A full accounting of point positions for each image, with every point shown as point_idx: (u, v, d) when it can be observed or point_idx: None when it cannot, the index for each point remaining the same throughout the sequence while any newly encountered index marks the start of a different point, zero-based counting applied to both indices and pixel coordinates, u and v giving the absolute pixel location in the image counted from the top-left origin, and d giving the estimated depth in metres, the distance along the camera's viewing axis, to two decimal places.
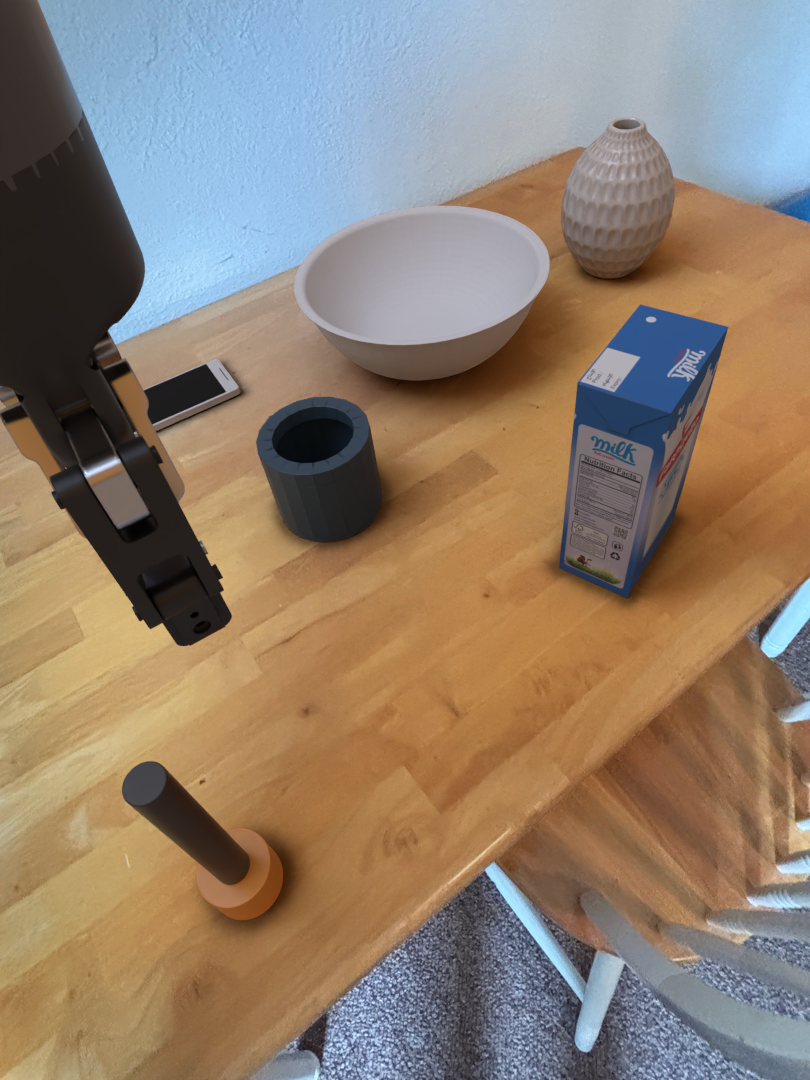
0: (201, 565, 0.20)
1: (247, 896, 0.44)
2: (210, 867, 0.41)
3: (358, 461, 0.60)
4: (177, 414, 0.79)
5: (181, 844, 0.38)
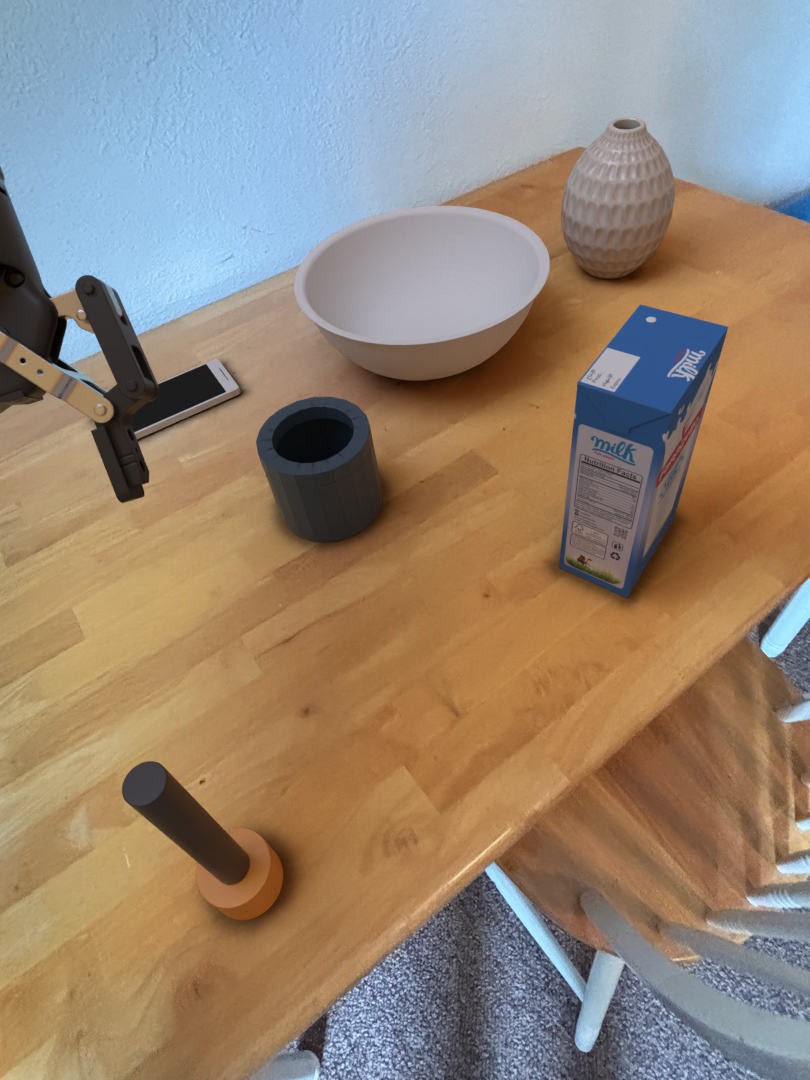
0: (147, 363, 0.35)
1: (247, 896, 0.44)
2: (210, 867, 0.41)
3: (358, 461, 0.60)
4: (177, 414, 0.79)
5: (181, 844, 0.38)
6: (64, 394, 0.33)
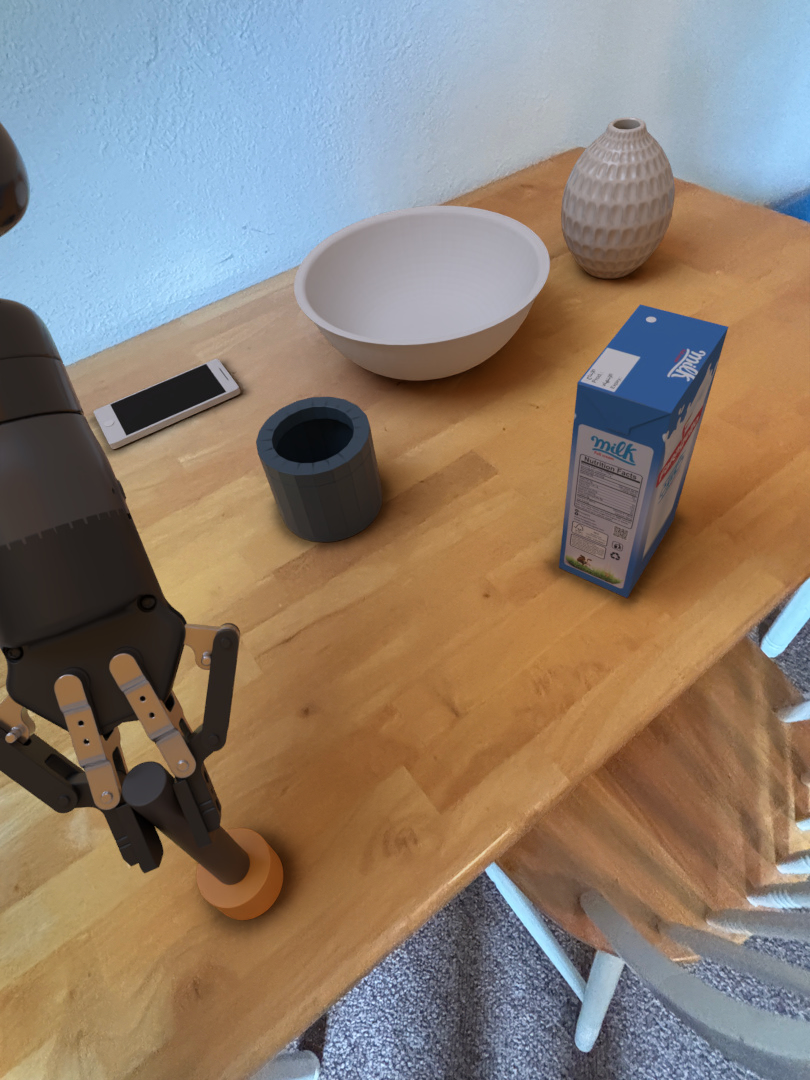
0: None
1: (247, 896, 0.44)
2: (210, 867, 0.41)
3: (358, 461, 0.60)
4: (177, 414, 0.79)
5: (181, 844, 0.38)
6: (159, 739, 0.34)
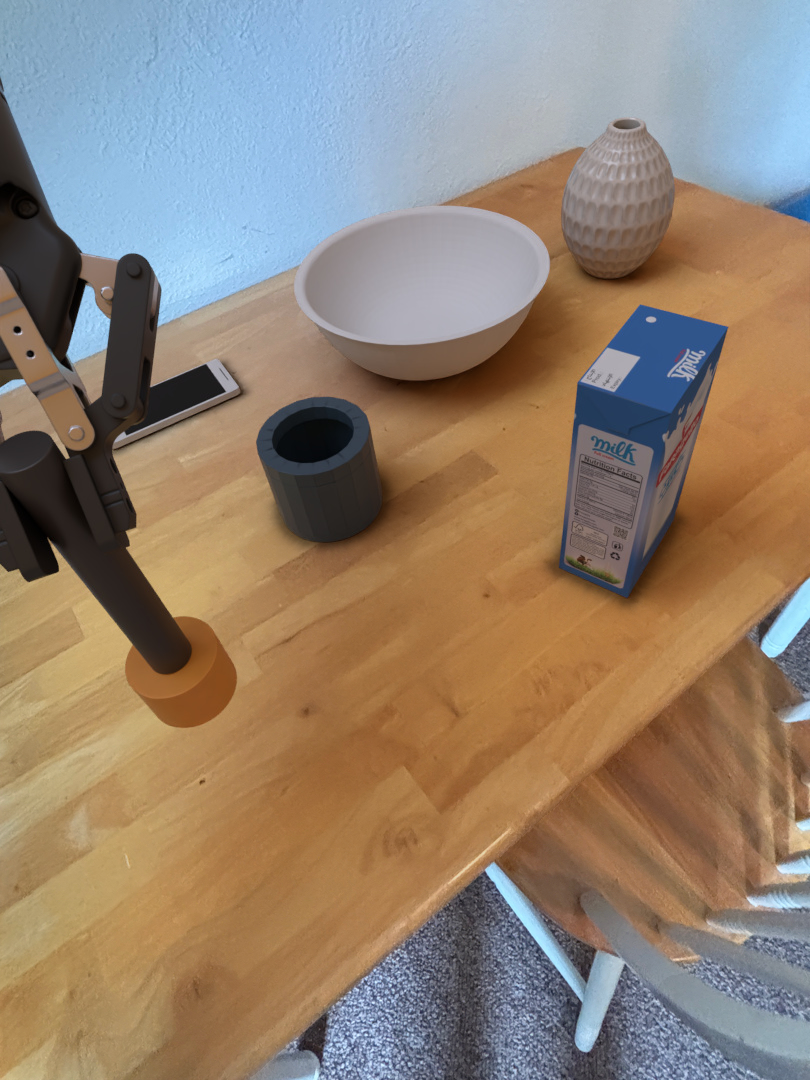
0: (149, 383, 0.28)
1: (186, 685, 0.35)
2: (134, 632, 0.32)
3: (358, 461, 0.60)
4: (177, 414, 0.79)
5: (87, 575, 0.29)
6: (43, 393, 0.25)
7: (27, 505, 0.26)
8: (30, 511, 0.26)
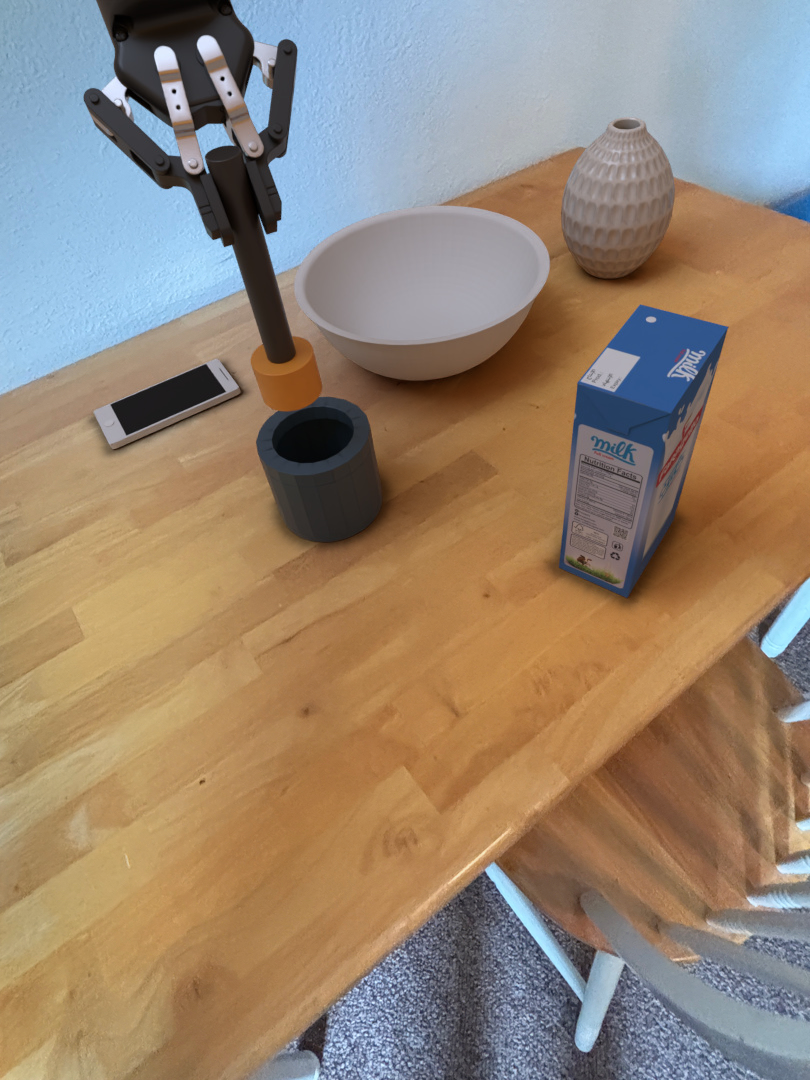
0: None
1: (294, 368, 0.52)
2: (266, 316, 0.49)
3: (358, 461, 0.60)
4: (177, 414, 0.79)
5: (246, 257, 0.46)
6: (235, 120, 0.42)
7: (223, 190, 0.43)
8: (223, 196, 0.43)
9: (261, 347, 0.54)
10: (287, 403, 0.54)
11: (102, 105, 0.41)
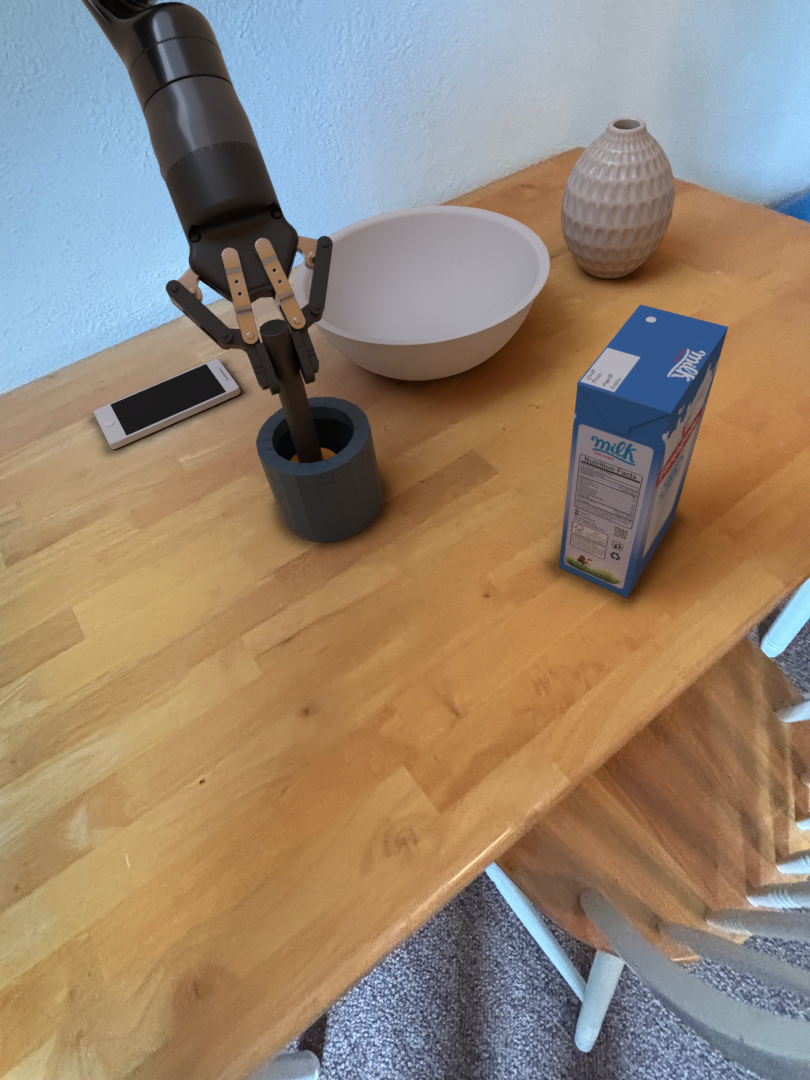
0: None
1: None
2: (302, 440, 0.60)
3: (358, 461, 0.60)
4: (177, 414, 0.79)
5: (289, 399, 0.57)
6: (283, 300, 0.53)
7: (273, 354, 0.54)
8: (273, 358, 0.54)
9: (295, 457, 0.65)
10: None
11: (180, 293, 0.52)
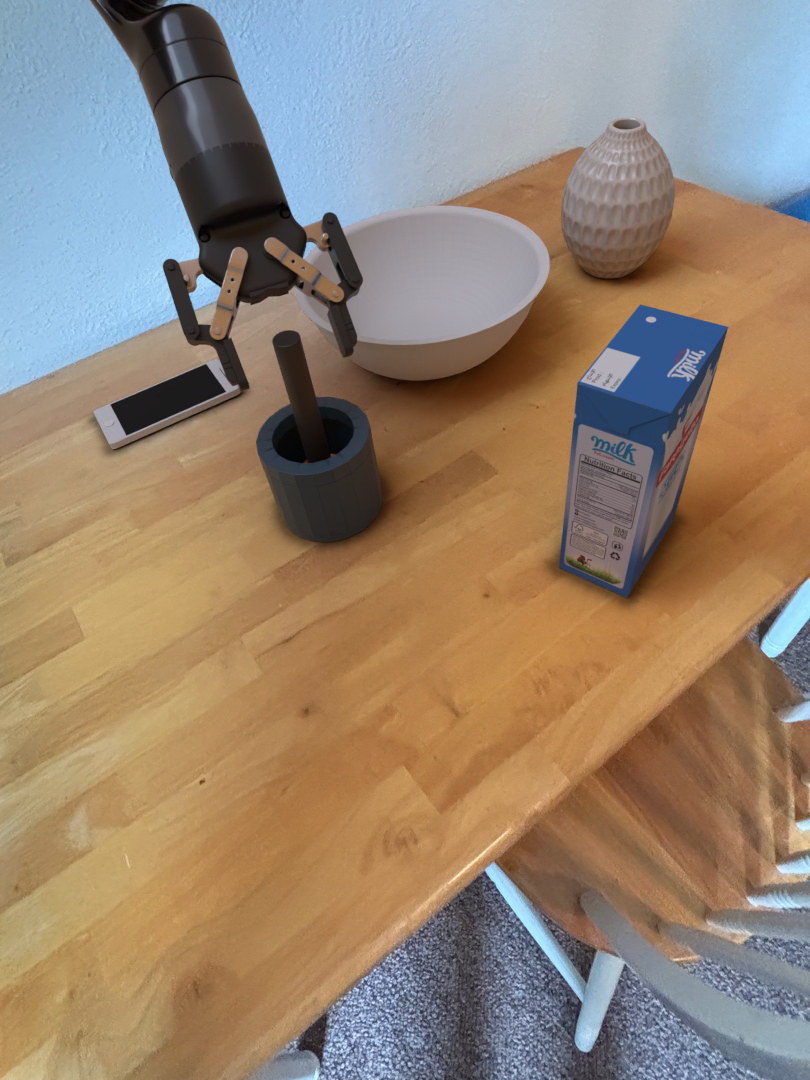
0: None
1: None
2: (313, 447, 0.62)
3: (358, 461, 0.60)
4: (177, 414, 0.79)
5: (300, 407, 0.58)
6: (315, 283, 0.54)
7: (285, 364, 0.55)
8: (285, 368, 0.55)
9: None
10: None
11: (174, 274, 0.52)
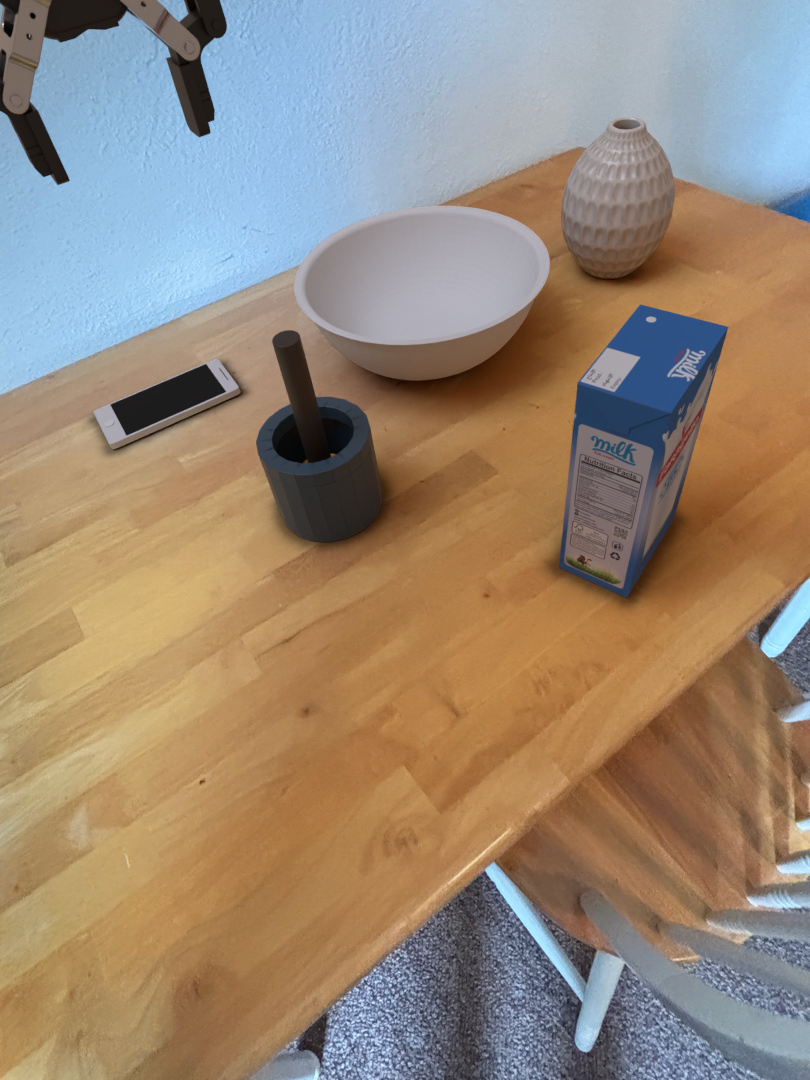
0: None
1: None
2: (313, 447, 0.62)
3: (358, 461, 0.60)
4: (177, 414, 0.79)
5: (300, 407, 0.58)
6: (160, 28, 0.37)
7: (285, 364, 0.55)
8: (285, 368, 0.55)
9: None
10: None
11: None
